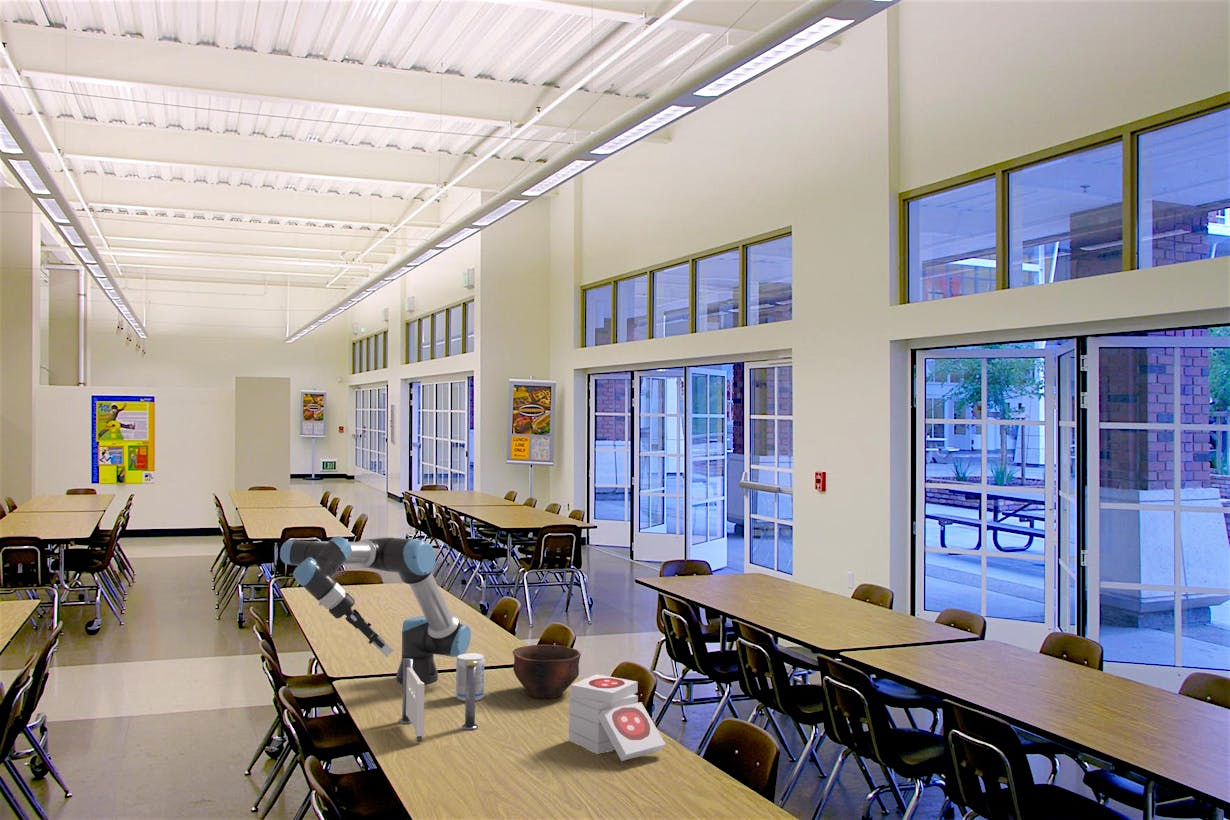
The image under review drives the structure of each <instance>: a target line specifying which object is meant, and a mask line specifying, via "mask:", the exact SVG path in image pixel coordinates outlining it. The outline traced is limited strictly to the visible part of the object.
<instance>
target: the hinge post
mask: <svg viewBox="0 0 1230 820" xmlns="http://www.w3.org/2000/svg"><path fill="white" fill-rule="evenodd" d="M409 667H412V668H413V659H412V658H405V659H403V684H402V704H401V705H402V711H401V713H402V714H401V715H402V716H401V718H399V720H398V723H399V722H400V723H402V724H401V725H410V724H409V723H411V722H410V720H409V718H408V717H407V716H406V686H407V668H409ZM400 723H399V724H400Z"/></svg>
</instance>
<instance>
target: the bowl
mask: <svg viewBox="0 0 1230 820" xmlns="http://www.w3.org/2000/svg"><path fill="white" fill-rule="evenodd" d="M512 655H513V656H514V658H513V659H514V661H513V667H512V669H513V673H514V675H515V677H516V679H518V681H519V682H520V684H521V685H522V687H523V688H524V689H525V691H526V693H527V694H528V696H531V697H534V698H540V699H541V698H542V699H545V698H548V699H552V698H557V697H559V696H562V695H563V694H564V692H565V691H567V689H568V688H569V687H571V685H572V684H574V683H575V682H574V681H576V680H577V678H578V676H579V675H580V668H579V667H580V665H579V664H580V658H581V656H582V655H581V652H580V651H579V650H578V649H576V648H572V647H568V646H562V645H554V644H532V645H525V646H520V647H517V648H514V649H513V651H512Z"/></svg>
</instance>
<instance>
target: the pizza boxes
mask: <svg viewBox="0 0 1230 820" xmlns="http://www.w3.org/2000/svg"><path fill="white" fill-rule="evenodd" d="M638 683H639V682H638V681H636V680H630V679H626V678H620V677H619V678H618V677H613V676H608V675H603V674H598V673H597V674H594V675H591V676H589V677H586V678H584V679H582V680H579V681H577V682H573V683H572V684H571V685H570V690H569V701H568V703H569V707H568V741H569V740H571V741H573V742H575V743H577V744H579V745H581V746H583V747H584V748H587V749H588V750H587V749H586V750H587V751H589V750H591V751H592V752H591V751H590V752H591V753H593V752H595V753H597V754H600V753H604V752H607V751H611V750H615V752H616V754H617V755H618V757H619V759H620V761H621V762H623V761H626V760H631V759H635V758H638V757H642V756H646V755H651V754H653V753H657V752H661V751H662V750H663V748H664V747H665V746H666V745H667V744H666V742H665V740H664V738H663V737H662V735H661V733H660V732H659V730H658V728H657V727H656V725H655V723H654V722H653V720H652V718H651V716H650V715H649V712H648V711H647V709H646V708H645V706H644V704H643V702H642V701H641V702H639V701H638V700H639V695H636V694H637V693H638V690H639V689H638V688H639V687H638V685H639V684H638ZM584 748H583V749H584ZM611 752H612V751H611ZM595 753H594V754H595ZM607 753H608V752H607ZM597 754H596V755H597ZM604 754H605V753H604ZM600 755H601V754H600Z"/></svg>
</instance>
